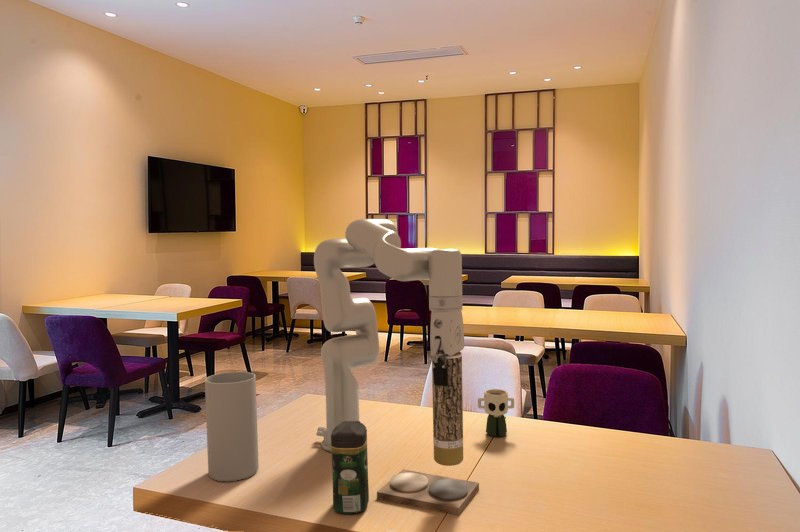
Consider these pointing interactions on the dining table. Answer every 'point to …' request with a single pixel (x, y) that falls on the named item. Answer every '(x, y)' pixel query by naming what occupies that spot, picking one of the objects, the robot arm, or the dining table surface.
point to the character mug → (496, 410)
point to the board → (429, 491)
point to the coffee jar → (349, 467)
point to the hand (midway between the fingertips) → (447, 380)
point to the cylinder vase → (231, 425)
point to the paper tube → (448, 414)
